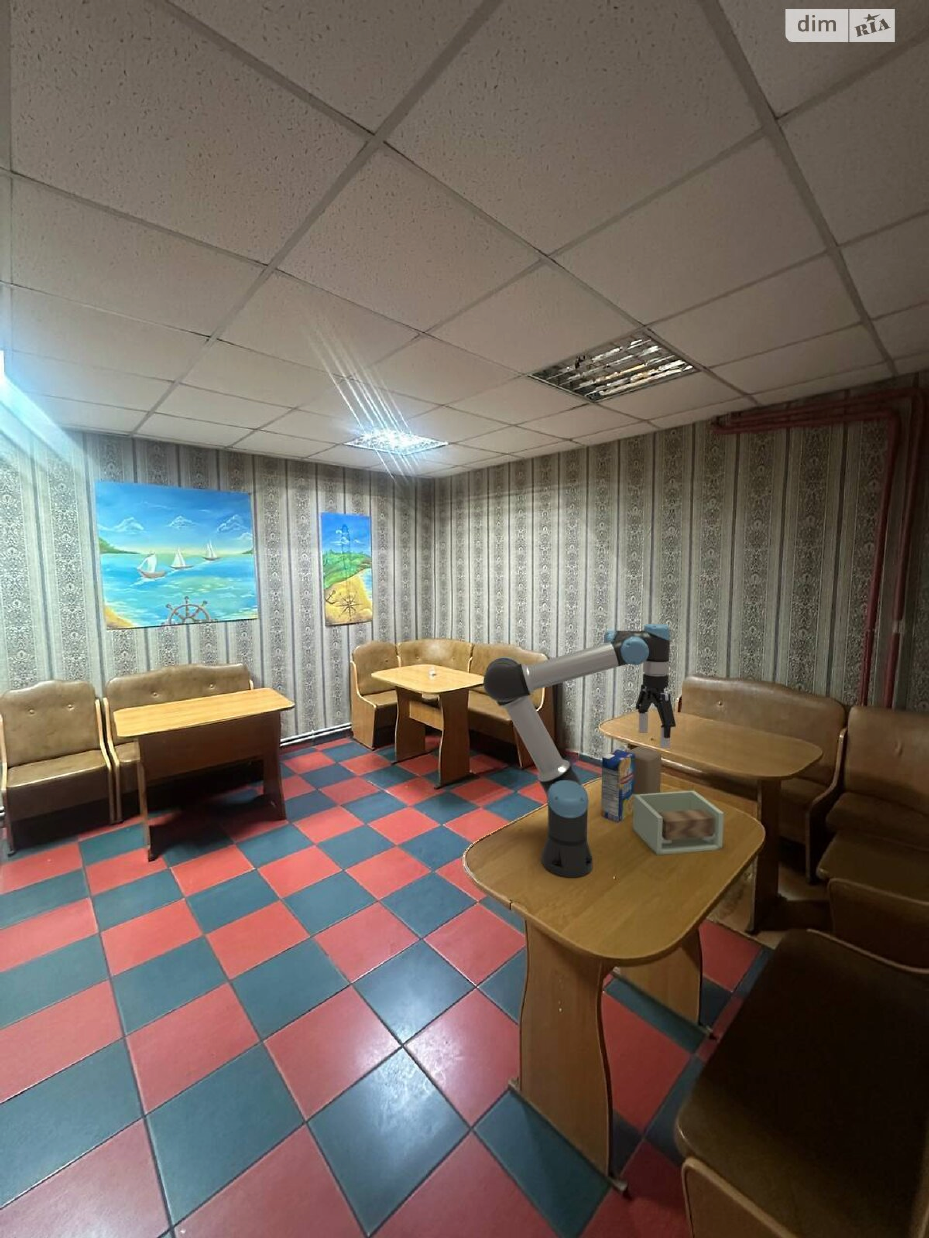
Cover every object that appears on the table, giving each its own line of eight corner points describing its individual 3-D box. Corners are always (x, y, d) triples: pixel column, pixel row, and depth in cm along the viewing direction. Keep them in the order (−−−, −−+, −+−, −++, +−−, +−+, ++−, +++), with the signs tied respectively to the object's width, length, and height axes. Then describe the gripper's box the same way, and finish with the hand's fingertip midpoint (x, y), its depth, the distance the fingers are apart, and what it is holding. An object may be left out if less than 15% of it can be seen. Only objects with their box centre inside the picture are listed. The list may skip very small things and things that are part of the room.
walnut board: (665, 840, 155) (666, 821, 154) (655, 830, 161) (656, 812, 160) (712, 836, 157) (713, 818, 156) (701, 826, 163) (702, 808, 162)
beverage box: (600, 816, 178) (602, 757, 176) (616, 805, 186) (617, 749, 183) (618, 823, 173) (619, 762, 171) (633, 812, 181) (635, 754, 179)
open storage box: (656, 854, 154) (658, 817, 153) (632, 828, 170) (633, 794, 168) (722, 849, 157) (723, 812, 156) (692, 823, 173) (693, 790, 171)
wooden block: (637, 794, 195) (638, 745, 193) (660, 803, 187) (662, 752, 185) (622, 802, 189) (624, 751, 187) (646, 811, 181) (648, 759, 179)
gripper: (690, 682, 142) (687, 753, 145) (647, 665, 167) (645, 726, 169) (665, 683, 141) (663, 754, 144) (626, 666, 166) (624, 727, 168)
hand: (653, 739), depth 156 cm, fingers open, 13 cm apart
